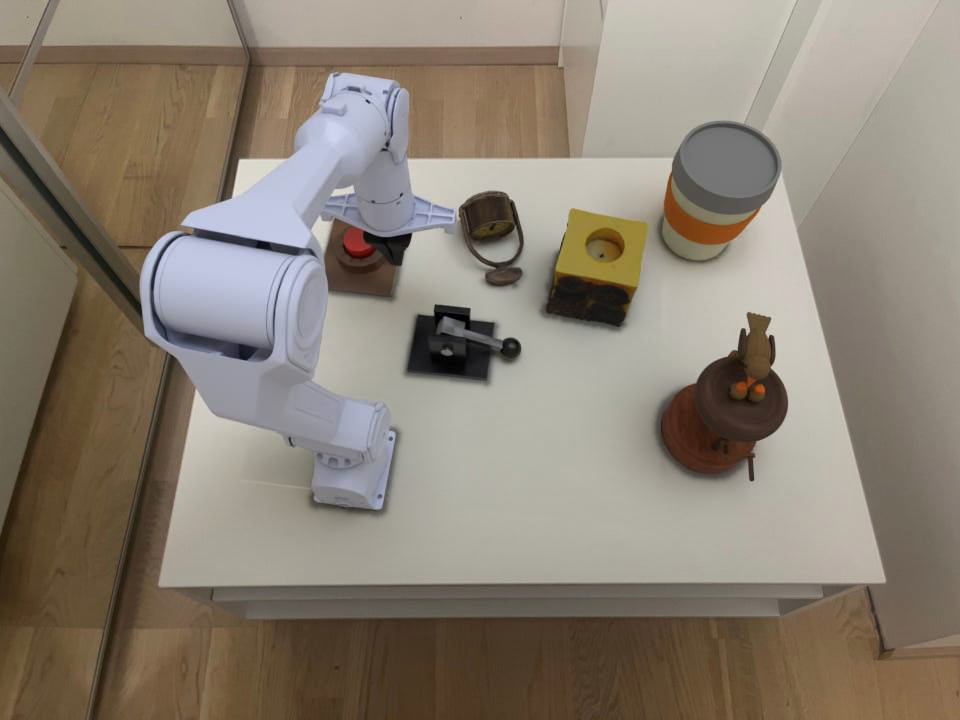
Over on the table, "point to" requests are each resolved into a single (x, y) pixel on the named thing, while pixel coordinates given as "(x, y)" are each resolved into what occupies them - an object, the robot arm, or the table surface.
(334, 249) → the button block
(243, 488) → the table surface
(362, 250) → the button
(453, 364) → the bracket
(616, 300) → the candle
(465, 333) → the lever
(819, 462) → the table surface
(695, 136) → the reusable coffee cup
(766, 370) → the music box
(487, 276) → the brown desk clock
